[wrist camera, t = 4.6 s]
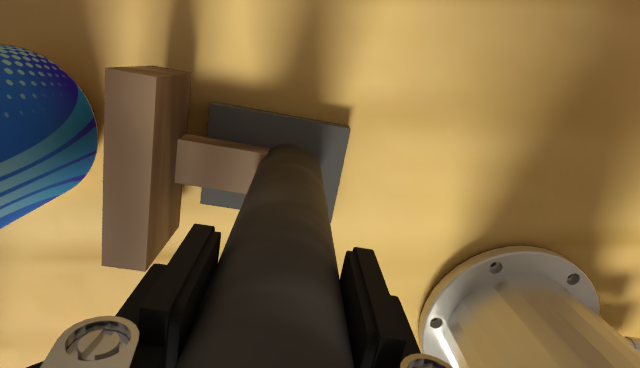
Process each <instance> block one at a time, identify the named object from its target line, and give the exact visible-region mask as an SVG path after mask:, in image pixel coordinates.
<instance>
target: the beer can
mask: <svg viewBox="0 0 640 368" xmlns="http://www.w3.org/2000/svg"><path fill="white" fill-rule="evenodd" d="M97 147H98V129H97V123H96V119H95V116H94V113H93V110H92V108H91V105H90V103H89V101H88V99H87V98H86V96H85V94H84V93H83V91H82V90H81V88H80V87H79V86H78V85H77V83H76V82H75V81H74V80H73V79H72V78H71V77H70V76H69V75H68V74H67V73H66V72H65V71H64V70H63V69H62V68H60V67H59V66H58V65H56V64H55V63H54V62H52V61H50V60H49V59H47V58H45V57H43V56H41V55H39V54H37V53H35V52H32V51H30V50H27V49H23V48H20V47H15V46H10V45H0V229H1V228H3V227H4V226H6V225H8V224H10V223H11V222H13V221H15V220H17V219H19V218H20V217H22V216H24V215H26V214H27V213H29V212H31V211H33V210H35V209H36V208H38V207H40V206H42V205H43V204H45V203H47V202H49V201H51V200H52V199H54V198H56V197H58V196H60V195H61V194H63V193H65V192H67V191H68V190H70V189H72V188H73V187H75V186H76V185H77V184H78V183H79V182H80V181H81V180H82V179H83V178H84V177H85V176H86V175H87V173H88V172H89V170H90V168H91V167H92V165H93V162H94V160H95V157H96V153H97Z"/></svg>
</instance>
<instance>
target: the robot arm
mask: <svg viewBox="0 0 640 368" xmlns="http://www.w3.org/2000/svg"><path fill="white" fill-rule="evenodd" d="M220 239H221V232H215V228H214V226H208V225H201V224H194V225H193V227H192V228H191V230H190V231H189V233H188V234H187V236H186V237H185V239H184V240H183V242H182V243H181V245H180V246H179V248H178V249H177V251H176V252H175V254H174V255H173V257H172V259H171V260H170V262H169V263H168V265H163V264H153V265H152V266H151V268H150V269H149V270H148V272H147V273H146V274H145V276H144V277H143V279H142V280H141V281H140V283H139V284H138V285H137V287H136V288H135V290H134V291H133V292H132V294H131V295H130V296H129V298H128V299H127V301H126V302H125V303H124V305H123V306H122V307H121V309H120V310H119V311H118V313H117V314H116V316H100V317H95V318H90V319H86V320H84V321H81V322H79V323H77V324H74V325H73V326H71V327H70V328H68V329H67V330H66V331H64V332H63V334H62V335H61V336H60V337H59V338H58V339H57V341H56V343H55V344H54V346H53V347H52V349H51V351H50V352H49V354H48V356H47V357H46V359H45V360H44V361H43V362H40V363H37V364H35V365H32V366H29V367H27V368H175V366H176V363H177V361H178V359H179V356H180V354H181V351H182V349H183V347H184V344H185V342H186V339H187V337H188V334H189V332H190V330H191V327H192V325H193V322H194V320H195V317H196V315H197V313H198V310H199V308H200V305H201V303H202V301H203V298H204V296H205V293H206V291H207V288H208V286H209V284H210V281H211V279H212V276H213V274H214V272H215V269H216V267H217V264H218V256H219V248H220ZM340 285H341V291H342V297H343V303H344V309H345V315H346V321H347V327H348V333H349V339H350V345H351V350H352V356H353V362H354V368H640V338H634V337H623V336H622V335H621V334H620V333H619V332H618V331H617V330H615V329H614V328H613V327H612V326H611V325H610V324H608V323H607V322H606V321H605V320H604V319H603V318H601V317H600V305H599V298H598V295H597V293H596V290H595V288H594V285H593V284H592V282H591V281H590V280H589V278H588V277H587V276H586V274H585V273H584V272H583V271H582V270H580V269H579V268H578V267H577V266H576V265H574V264H573V263H572V262H571V261H569V260H567V259H566V258H564V257H563V256H561V255H560V254H558V253H555V252H552V251H550V250H547V249H544V248H539V247H532V246H507V247H502V248H497V249H492V250H489V251H487V252H484V253H481V254H479V255H476V256H474V257H472V258H470V259H468V260H467V261H465V262H463V263H461V264H460V265H458V266H457V267H456V268H454V269H453V270H452V271H451V272H450V273H448V274H447V275H446V276H445V277H444V278H443V279H442V280H441V281H440V282H439V283H438V285H437V286H436V287H435V288H434V289H433V291H432V293H431V294H430V296H429V298H428V299H427V301H426V302H425V305H424V308H423V311H422V313H421V316H420V321H419V329H418V335H419V345H420V348H421V351H422V354H421V352H420V350H419V347H418V345H417V342H416V340H415V337H414V335H413V332H412V330H411V327H410V325H409V322H408V320H407V317H406V315H405V312H404V310H403V307H402V305H401V302H400V300H399V298H398V297H397V296H391V295H390V294H389V291H388V288H387V286H386V283H385V280H384V278H383V275H382V272H381V270H380V267H379V264H378V261H377V259H376V256H375V253H374V251H373V250H371V249H365V248H358V247H354V248H353V251H347V252H346V255H345V259H344V263H343V268H342V272H341V277H340Z"/></svg>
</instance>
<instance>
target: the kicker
mask: <svg viewBox="0 0 640 368" xmlns="http://www.w3.org/2000/svg"><path fill="white" fill-rule="evenodd" d="M191 74H192V73H189V72H184V71H178V70H173V69H168V68H162V67H157V66H137V67H114V68H105V109H104V165H103V221H102V266H108V267H116V268H123V269H130V270H138V271H145V272H146V270H147V269H148V268H149V266H150V265H151V264H152V262H153V261H154V259H155V258H156V257H157V255H158V254H159V253H160V251H161V250H162V249H163V247H164V246H165V245H166V243H167V242H168V241H169V239H170V238H171V236H172V235H173V234H174V232H175V231H176V230H177V228H178V227H179V220H180V208H181V196H182V184H186V185H192V186H198V187H205V188H211V189H217V190H224V191H230V192H236V193H243V194H246V197H245V199H244V201H243V204H242V206H241V209H240V211H239V214H238V216H237V218H236V221H235V223H234V226H233V228H232V230H231V233H230V235H229V238H228V240H227V243H226V245H225V247H224V250H223V252H222V255H221V257H220V259H219V262H218V264H217V267H216V269H215V272H214V274H213V276H212V279H211V281H210V284H209V286H208V288H207V291H206V293H205V296H204V298H203V301H202V303H201V305H200V308H199V310H198V313H197V315H196V317H195V320H194V322H193V325H192V327H191V330H190V332H189V334H188V337H187V339H186V342H185V344H184V347H183V349H182V351H181V354H180V356H179V359H178V361H177V363H176V366H175V368H354V362H353V356H352V350H351V345H350V339H349V333H348V327H347V321H346V315H345V309H344V303H343V297H342V291H341V285H340V279H339V274H338V268H337V262H336V256H335V250H334V244H333V238H332V232H331V226H330V220H329V214H328V208H327V203H326V197H325V191H324V185H323V179H322V173H321V167H320V164H319V162H318V160H317V158H316V156H315V155H314V154H313V153H312V152H311V151H310V150H308V149H307V148H305V147H303V146H301V145H298V144H293V143H285V144H280V145H277V146H275V147H273V148H266V147H260V146H255V145H249V144H243V143H237V142H231V141H225V140H219V139H213V138H207V137H201V136H196V135H190V134H187V123H188V110H189V98H190V86H191Z"/></svg>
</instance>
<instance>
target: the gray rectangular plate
mask: <svg viewBox="0 0 640 368" xmlns="http://www.w3.org/2000/svg"><path fill="white" fill-rule="evenodd" d="M349 133H350V127H349V126H346V125H340V124H335V123H329V122H324V121H318V120H312V119H307V118H301V117H296V116H290V115H284V114H279V113H273V112H268V111H262V110H257V109H251V108H245V107H240V106H234V105H229V104H223V103H217V102H213V103H211V104H210V109H209V120H208V130H207V138H213V139H219V140H225V141H231V142H237V143H243V144H249V145H255V146H260V147H266V148H273V147H275V146H277V145H280V144H285V143H293V144H298V145H301V146H303V147H305V148H307V149H308V150H310V151H311V152H312V153H313V154H314V155H315V156H316V158H317V160H318V162H319V164H320V167H321V173H322V179H323V185H324V191H325V197H326V203H327V208H328V214H329V220H330V223H331V220H332V215H333V210H334V205H335V200H336V196H337V191H338V186H339V181H340V176H341V172H342V167H343V162H344V157H345V153H346V148H347V143H348V138H349ZM245 197H246V194H243V193H236V192H230V191H224V190H217V189H211V188H205V187H202V191H201V201H200V204H206V205H213V206H220V207H226V208H233V209H239V210H240V209H241V206H242V204H243V201H244V199H245Z"/></svg>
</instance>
